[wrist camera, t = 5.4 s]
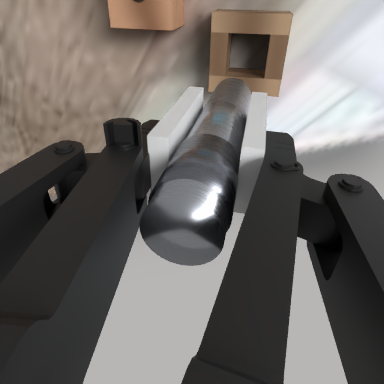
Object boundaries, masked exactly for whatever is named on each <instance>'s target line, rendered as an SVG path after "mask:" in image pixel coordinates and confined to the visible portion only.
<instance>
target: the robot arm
mask: <svg viewBox="0 0 384 384" xmlns="http://www.w3.org/2000/svg"><path fill="white" fill-rule="evenodd" d="M203 91H204V87H192V86H189V88H188V89H187V90H186V91H185V92H184V93H183V94H182V96H181V97H180V98H179V99H178V100H177V101H176V103H175V104H174V105H173V106H172V107H171V108H170V110H169V111H168V112H167V113H166V114H165V115H164V117H163V118H162V119H161V120H149V121H147V122H145V123H143V124H142V125H141V123H140V122H139V121H138V120H135V119H132V118H116V119H111V120H108V121H106V122H105V123H103V126H104V132H105V138H106V147H105V148H104V149H103V150H102V152H101V153H87V154H85V150H84V146H83V145H82V144H81V143H79V142H76V141H70V140H66V141H60V142H58V143H54V144H52V145H50V146H48V147H46V148H44V149H43V150H41V151H39V152H37V153H36V154H34V155H32V156H30V157H29V158H27V159H25V160H24V161H22V162H20V163H18V164H17V165H15V166H13V167H11V168H10V169H8V170H6V171H4V172H3V173H1V174H0V384H83V381H84V378H85V375H86V372H87V369H88V367H89V364H90V361H91V358H92V356H93V353H94V350H95V347H96V345H97V342H98V339H99V336H100V333H101V331H102V328H103V325H104V322H105V320H106V317H107V314H108V311H109V309H110V306H111V303H112V300H113V298H114V295H115V292H116V289H117V286H118V284H119V281H120V278H121V275H122V273H123V270H124V267H125V264H126V262H127V258H128V256H129V253H130V251H131V248H132V245H133V242H134V239H135V237H136V234H137V231H138V228H139V226H140V218H141V216H142V214H143V212H144V210H145V209H146V206H147V196H146V194H147V192H148V191H149V189H150V188H151V192H152V190H153V188H154V186H155V185H156V183H157V181H158V180H159V178H160V176H161V175H162V173H163V171H164V170H165V168H166V166H167V165H168V163H169V161H170V160H171V158H172V156H173V155H174V153H175V151H176V150H177V148H178V146H179V145H180V144H181V143H182V142H183V141H184V140H185V139H186V138H187V136H188V134H189V133H190V131H191V129H192V128H193V126H194V124H195V122H196V121H197V119H198V117H199V115H200V114H201V112H202V110H203ZM266 119H267V93H262V92H252V96H251V101H250V107H249V112H248V117H247V122H246V127H245V133H244V138H243V143H242V149H241V157H240V164H239V172H238V187H237V193H236V199H235V205H234V210H233V212H237V213H244V214H245V216H244V219H243V222H242V224H241V227H240V230H239V233H238V236H237V239H236V242H235V245H234V248H233V251H232V254H231V257H230V260H229V263H228V266H227V268H226V271H225V274H224V277H223V280H222V283H221V286H220V289H219V292H218V295H217V298H216V301H215V304H214V307H213V310H212V313H211V315H210V318H209V321H208V324H207V328H206V330H205V333H204V336H203V339H202V342H201V345H200V347H199V350H198V352H197V354H196V355H195V356H194V357H193V358H192V359H191V362H190V364H189V365H188V368H187V370H186V373H185V375H184V378H183V380H182V383H181V384H283V381H284V368H285V357H286V347H287V337H288V326H289V316H290V305H291V294H292V284H293V274H294V264H295V253H296V241H297V237H300V238H302V239H305V240H307V248H308V251H309V254H310V258H311V261H312V265H313V268H314V271H315V275H316V278H317V281H318V285H319V288H320V292H321V295H322V298H323V302H324V305H325V308H326V312H327V315H328V318H329V322H330V325H331V328H332V332H333V335H334V339H335V342H336V345H337V349H338V352H339V355H340V359H341V362H342V365H343V369H344V372H345V375H346V379H347V382H348V384H384V200H383V199H382V197H381V196H380V194H379V193H378V192H377V190H376V189H375V188H374V186H372V185H371V184H370V183H369V182H368V181H366V180H364V179H362V178H361V177H358V176H355V175H351V174H350V175H348V174H335V175H332V176H330V177H329V179H328V181H327V183H323V182H320V181H317V180H314V179H311V178H309V177H307V176H305V175H304V174H303V167H302V165H301V164H300V163H299V162H297V161H296V153H295V146H294V140H293V138H292V137H291V136H290V135H289V134H288V133H281V132H272V131H266ZM53 186H54V187H55V191H56V194H57V199H56V200H55V201H53V202H52V201H51V200H50V196H49V193H48V190H49V189H50V188H51V187H53Z"/></svg>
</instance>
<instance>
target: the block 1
mask: <svg viewBox="0 0 384 384" xmlns="http://www.w3.org/2000/svg"><path fill="white" fill-rule="evenodd" d="M107 1H108V9H109V17H110V25H111V28H130V29H151V30H174V29H177V28H179V27H181V26H183V25H184V0H107Z"/></svg>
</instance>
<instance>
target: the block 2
mask: <svg viewBox="0 0 384 384" xmlns="http://www.w3.org/2000/svg"><path fill="white" fill-rule="evenodd" d="M292 17H293V14H292V13H291V12H290V11H258V10H220V9H218V10H215V11H213V12H212V20H211V43H210V66H209V89H208V92H213V91H214V90H215V88H216V86H217V85H218V84H219V83H220V82H221V81H222V80H224V79H227V78H238V79H241V80H242V81H244V82H245V83H246V84H247V85H248V87H249V89H250V91H251V95H252V92H262V93H267V96H276V97H278V95H279V90H280V84H281V79H282V73H283V67H284V62H285V56H286V51H287V45H288V39H289V34H290V28H291V23H292ZM232 33H245V34H270V35H269V42H268V49H267V55H266V62H265V69H264V70H260V69H243V68H229V64H230V51H231V39H232Z"/></svg>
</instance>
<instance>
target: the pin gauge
mask: <svg viewBox="0 0 384 384" xmlns="http://www.w3.org/2000/svg"><path fill="white" fill-rule="evenodd" d="M250 101H251V91H250V89H249V87H248V85H247V84H246V83H245V82H244V81H242V80H241V79H238V78H227V79H224V80H222V81H221V82H220V83H219V84H218V85H217V86H216V88H215V90H214V91H213V93H212V95H211V97H210V98H209V100H208V102H207V103H206V105H205V107H204V109H203V110H202V112H201V114H200V115H199V117H198V119H197V121H196V122H195V124H194V126H193V128H192V129H191V131H190V133H189V134H188V136H187V138H186V139H185V140H184V141H183V142H182V143H181V144H180V145H179V146H178V148H177V150H176V151H175V153H174V155H173V156H172V158H171V160H170V161H169V163H168V165H167V166H166V168H165V170H164V171H163V173H162V175H161V176H160V178H159V180H158V181H157V183H156V185H155V186H154V188H153V190H152V192H151V193H150V197H149V201H148V205H147V207H146V209H145V210H144V212H143V214H142V216H141V218H140V232H141V235H142V238H143V239H144V241H145V242H146V244H147V245H148V247H149V248H150V249H151V250H152V251H153V252H155V253H156V254H157V255H159V256H160V257H162V258H164V259H166V260H168V261H170V262H173V263H176V264H180V265H189V266H190V265H191V266H193V265H201V264H205V263H207V262H210V261H212V260H213V259H215V258H216V257H217V256H218V255H219V254H220V252H221V251H222V248H223V245H224V240H225V235H226V232H227V231H228V229H229V228H230V225H231V221H232V216H233V210H234V205H235V199H236V193H237V187H238V172H239V164H240V155H241V149H242V143H243V138H244V133H245V127H246V122H247V117H248V112H249V107H250Z"/></svg>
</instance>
